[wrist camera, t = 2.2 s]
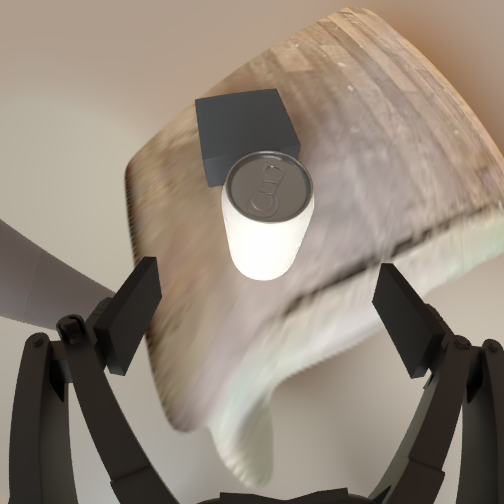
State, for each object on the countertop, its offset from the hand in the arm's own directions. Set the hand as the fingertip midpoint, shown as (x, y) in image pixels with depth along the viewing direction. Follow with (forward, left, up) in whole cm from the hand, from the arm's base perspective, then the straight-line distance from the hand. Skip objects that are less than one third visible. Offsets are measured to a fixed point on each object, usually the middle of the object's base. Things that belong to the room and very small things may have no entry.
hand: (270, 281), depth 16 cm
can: (-1, +6, -12) cm, 13 cm away
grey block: (-5, +19, -12) cm, 23 cm away
